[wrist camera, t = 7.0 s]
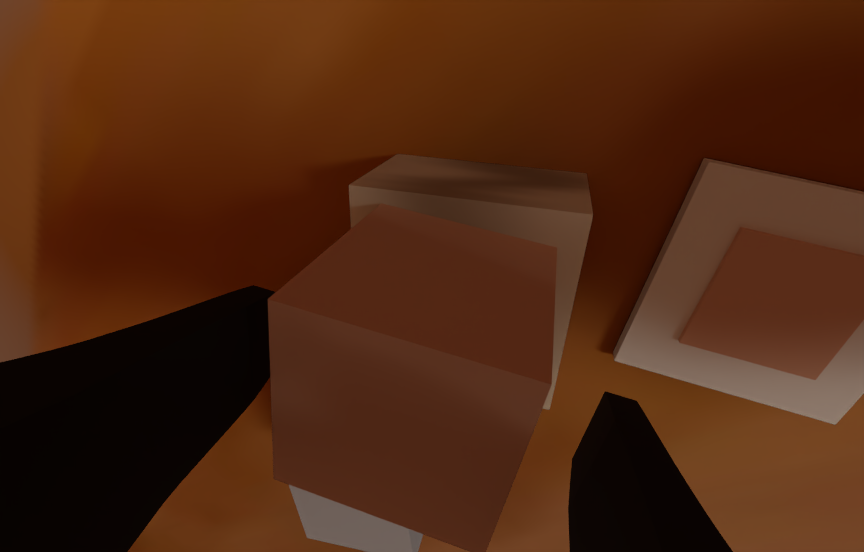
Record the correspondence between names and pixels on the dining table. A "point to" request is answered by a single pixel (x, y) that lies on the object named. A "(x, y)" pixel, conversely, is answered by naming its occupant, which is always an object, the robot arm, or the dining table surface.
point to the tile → (758, 292)
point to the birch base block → (493, 211)
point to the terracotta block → (413, 371)
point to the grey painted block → (351, 526)
